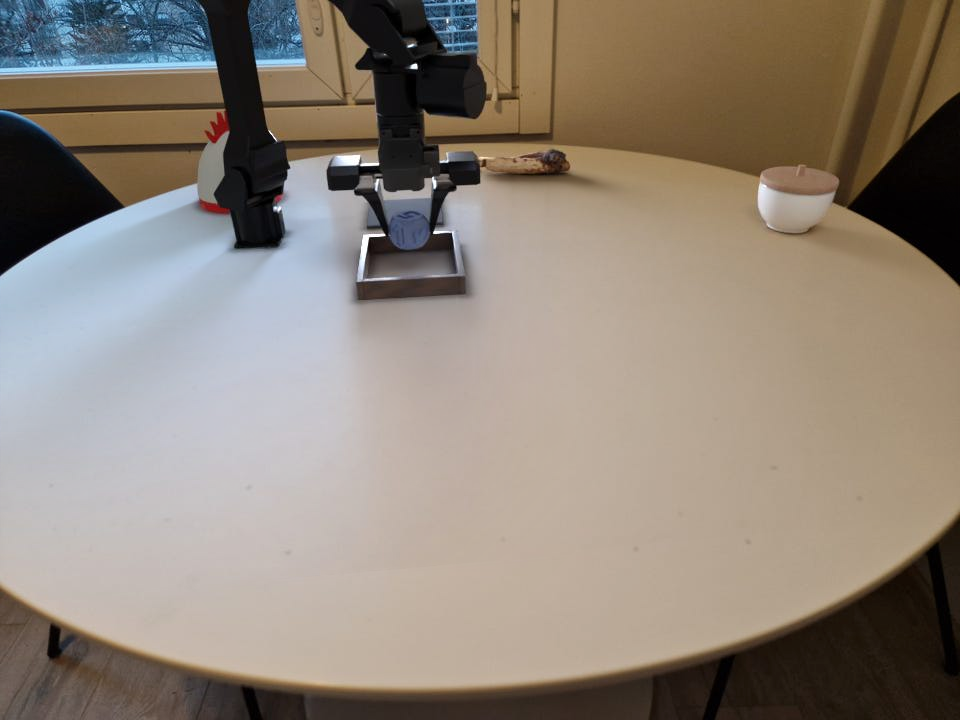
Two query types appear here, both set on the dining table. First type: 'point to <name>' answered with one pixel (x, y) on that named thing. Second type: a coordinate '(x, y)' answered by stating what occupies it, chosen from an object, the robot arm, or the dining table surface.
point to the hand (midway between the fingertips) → (409, 235)
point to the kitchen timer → (214, 165)
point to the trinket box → (795, 197)
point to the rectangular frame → (415, 283)
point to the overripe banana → (528, 163)
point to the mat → (403, 205)
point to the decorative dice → (409, 229)
